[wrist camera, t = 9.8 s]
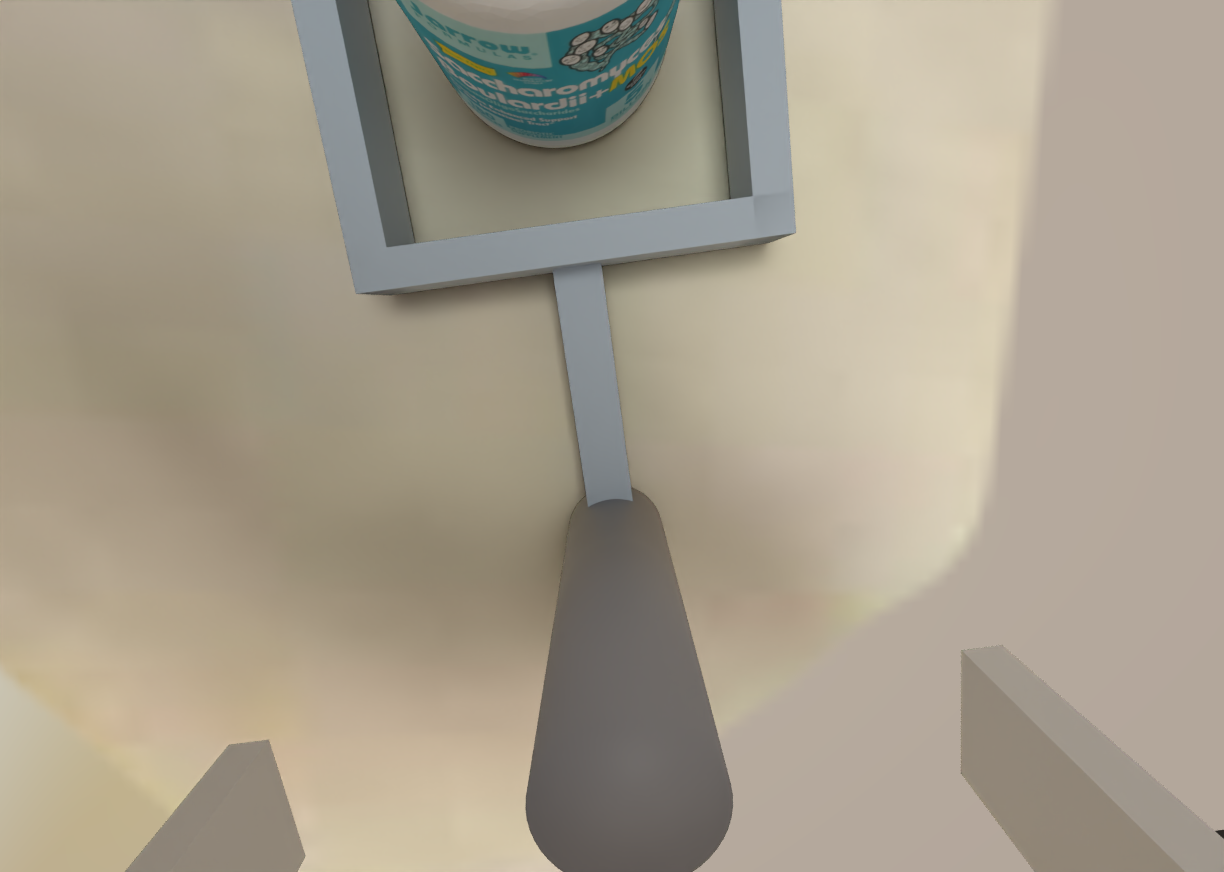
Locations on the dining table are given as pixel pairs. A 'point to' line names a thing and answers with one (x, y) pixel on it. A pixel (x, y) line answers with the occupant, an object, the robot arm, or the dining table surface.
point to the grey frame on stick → (585, 444)
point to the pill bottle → (547, 61)
